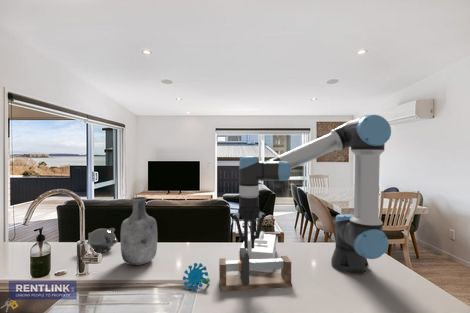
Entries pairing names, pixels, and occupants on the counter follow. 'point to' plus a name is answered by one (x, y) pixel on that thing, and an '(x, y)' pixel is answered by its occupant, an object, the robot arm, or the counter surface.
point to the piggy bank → (102, 239)
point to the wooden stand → (255, 278)
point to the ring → (244, 266)
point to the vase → (138, 235)
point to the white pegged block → (263, 248)
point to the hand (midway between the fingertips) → (249, 256)
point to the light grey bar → (255, 264)
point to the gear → (196, 276)
